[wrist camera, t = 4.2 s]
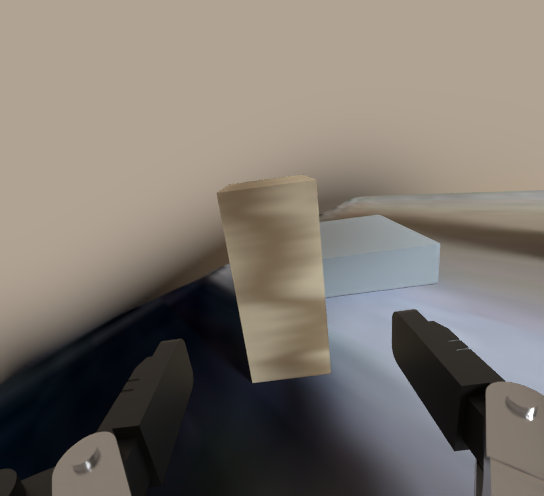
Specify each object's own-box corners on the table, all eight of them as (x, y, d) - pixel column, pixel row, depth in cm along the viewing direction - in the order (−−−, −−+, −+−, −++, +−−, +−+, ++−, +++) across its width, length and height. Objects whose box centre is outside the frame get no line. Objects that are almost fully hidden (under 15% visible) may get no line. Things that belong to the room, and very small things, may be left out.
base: (379, 241, 39) (378, 214, 38) (437, 283, 26) (440, 243, 25) (282, 254, 40) (279, 227, 38) (292, 301, 26) (287, 263, 25)
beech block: (316, 327, 22) (302, 174, 18) (330, 373, 17) (316, 179, 14) (255, 335, 22) (228, 184, 18) (252, 383, 17) (216, 192, 14)
